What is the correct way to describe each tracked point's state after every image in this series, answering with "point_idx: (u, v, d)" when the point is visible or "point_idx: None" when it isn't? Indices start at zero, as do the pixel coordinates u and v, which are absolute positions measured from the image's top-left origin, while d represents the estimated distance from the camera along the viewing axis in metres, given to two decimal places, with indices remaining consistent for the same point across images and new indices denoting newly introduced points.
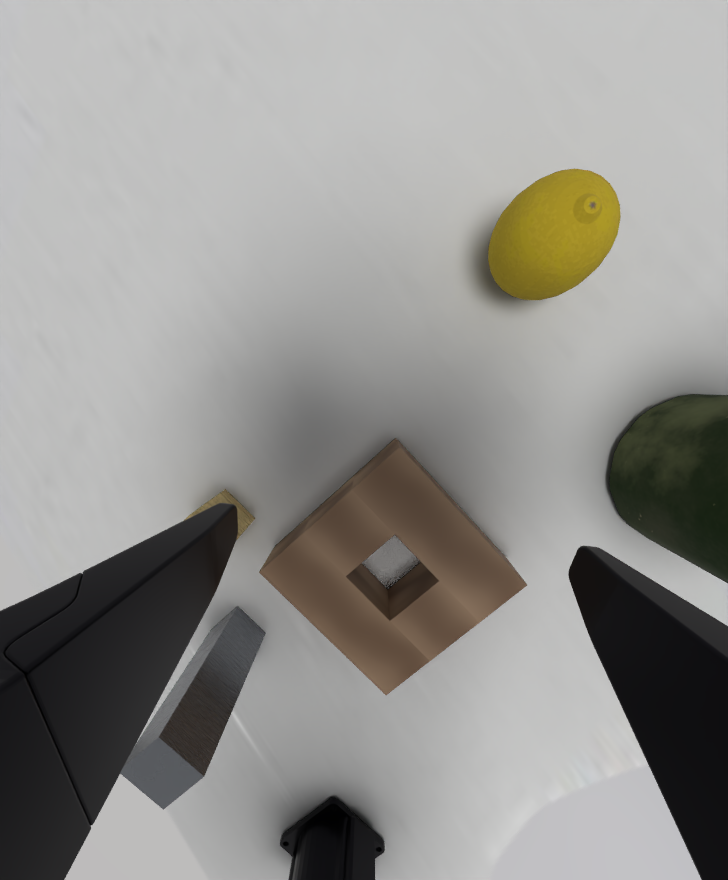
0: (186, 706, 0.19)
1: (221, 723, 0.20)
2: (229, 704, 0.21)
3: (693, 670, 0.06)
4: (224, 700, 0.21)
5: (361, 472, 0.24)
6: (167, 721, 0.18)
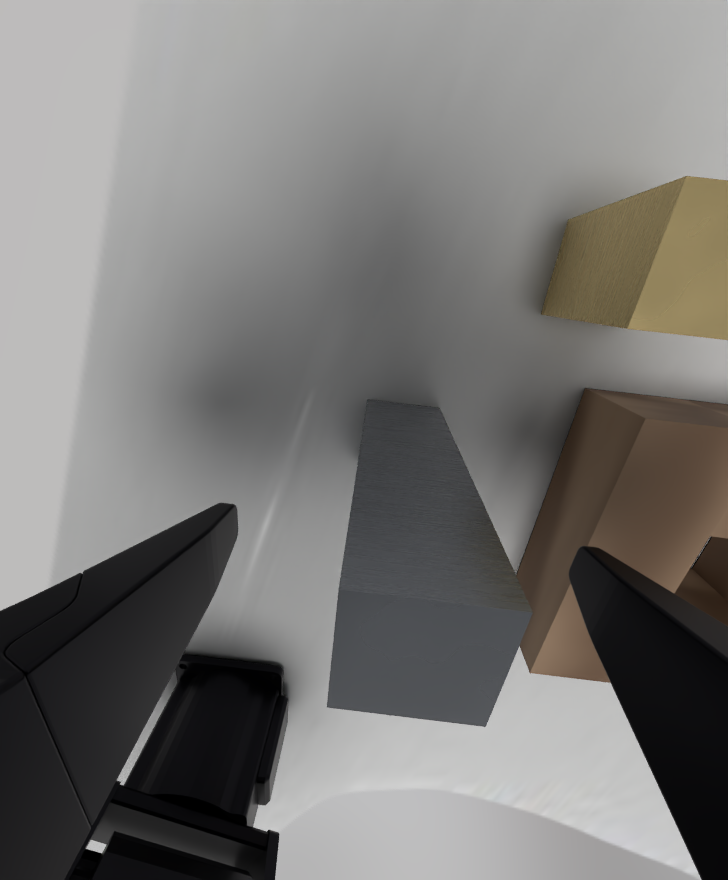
0: None
1: None
2: None
3: (693, 670, 0.06)
4: None
5: None
6: (507, 570, 0.06)
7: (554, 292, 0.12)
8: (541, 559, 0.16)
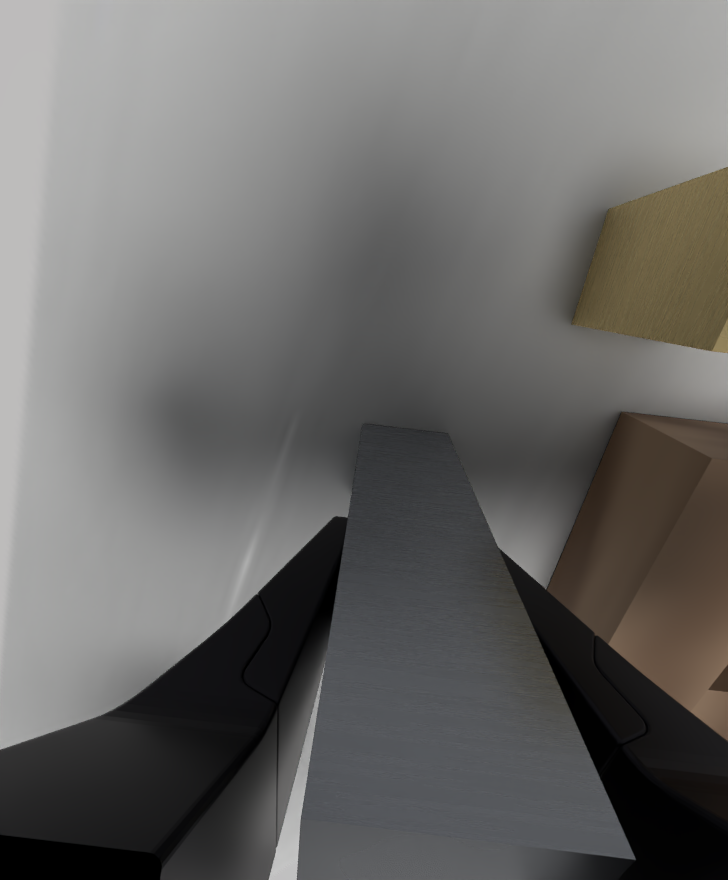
0: None
1: None
2: None
3: None
4: None
5: None
6: (574, 743, 0.04)
7: (590, 298, 0.10)
8: None
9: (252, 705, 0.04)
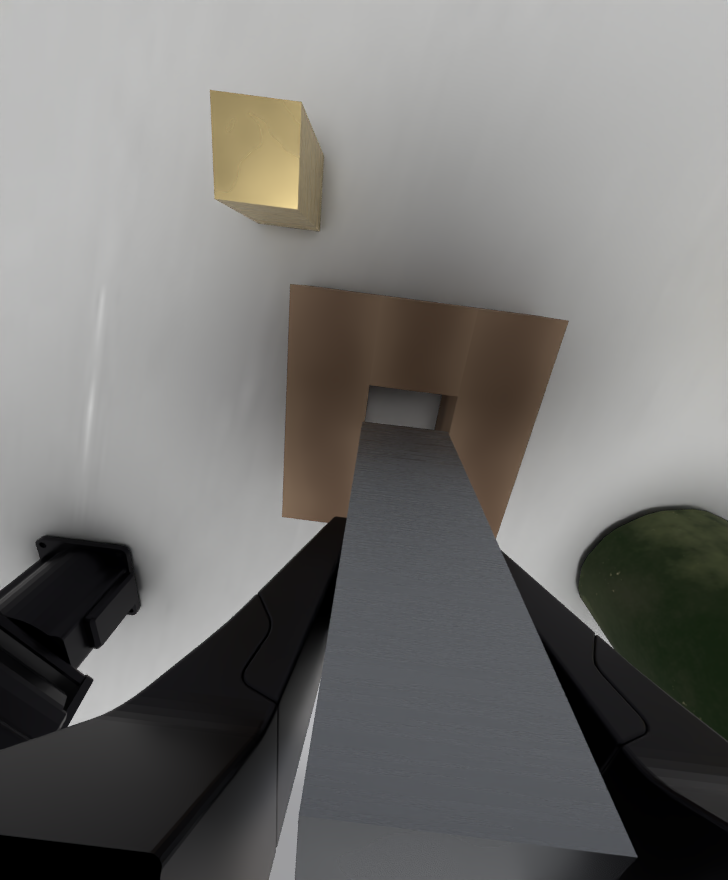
0: None
1: None
2: None
3: None
4: None
5: (480, 308, 0.17)
6: (575, 740, 0.04)
7: None
8: None
9: (252, 705, 0.04)
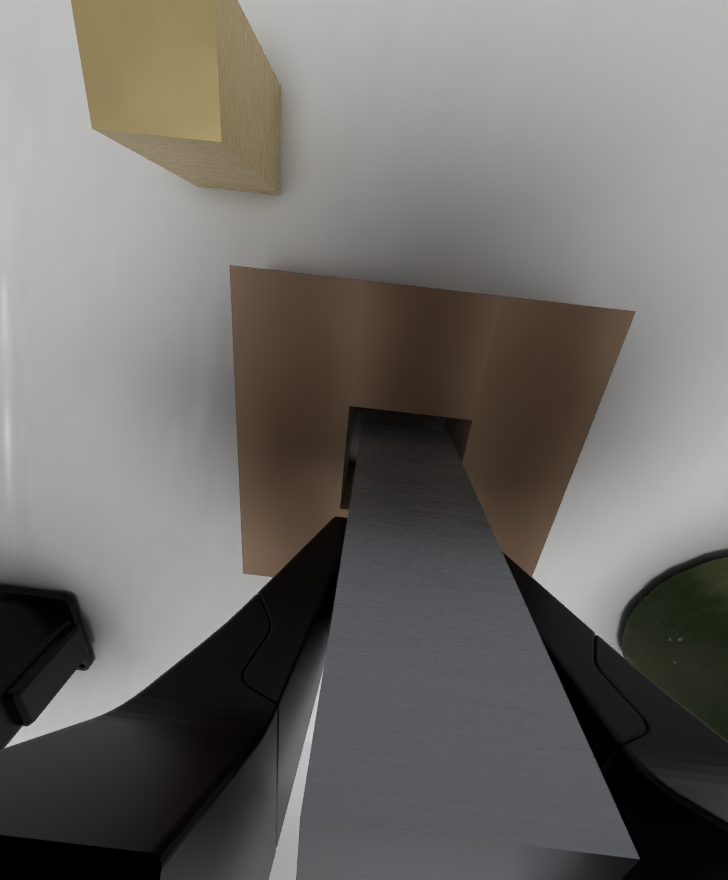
0: None
1: None
2: None
3: None
4: None
5: None
6: (577, 741, 0.04)
7: None
8: None
9: (253, 704, 0.04)
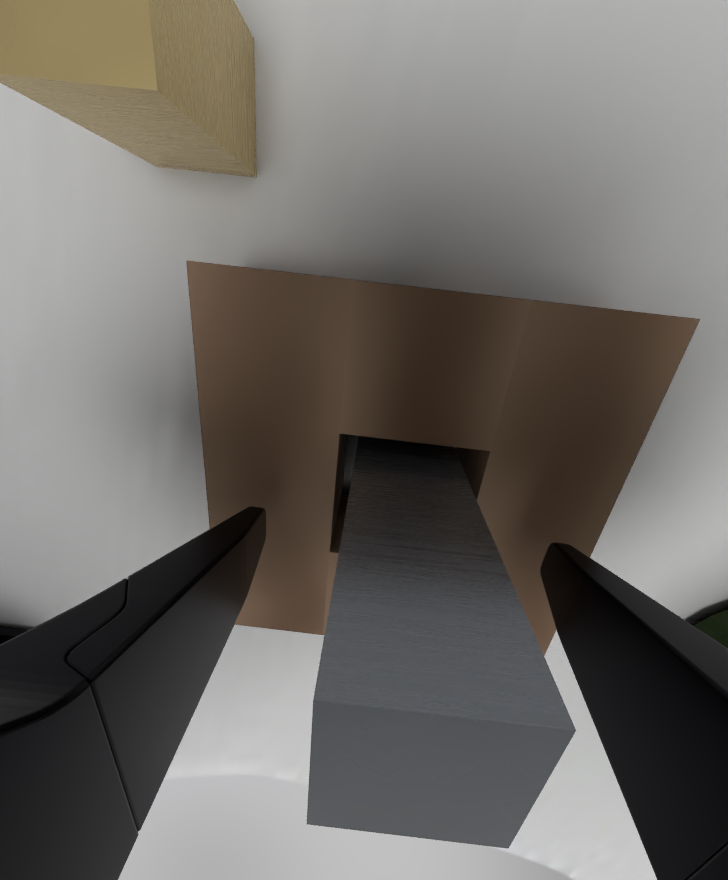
0: None
1: None
2: None
3: (649, 665, 0.06)
4: None
5: None
6: (535, 656, 0.05)
7: None
8: None
9: (61, 682, 0.04)
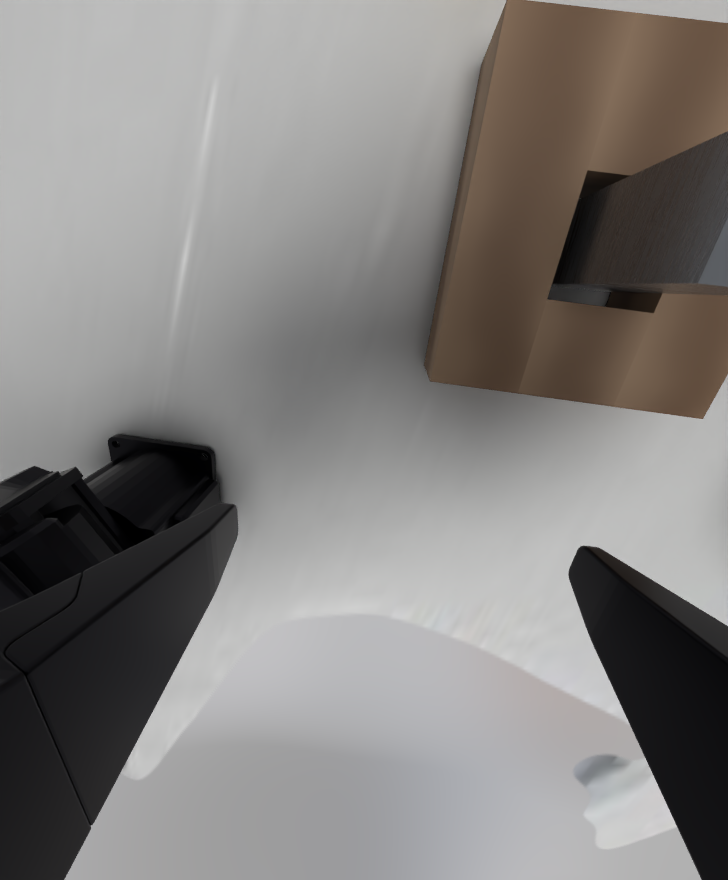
0: None
1: None
2: None
3: (693, 670, 0.06)
4: None
5: None
6: None
7: None
8: (445, 271, 0.16)
9: None
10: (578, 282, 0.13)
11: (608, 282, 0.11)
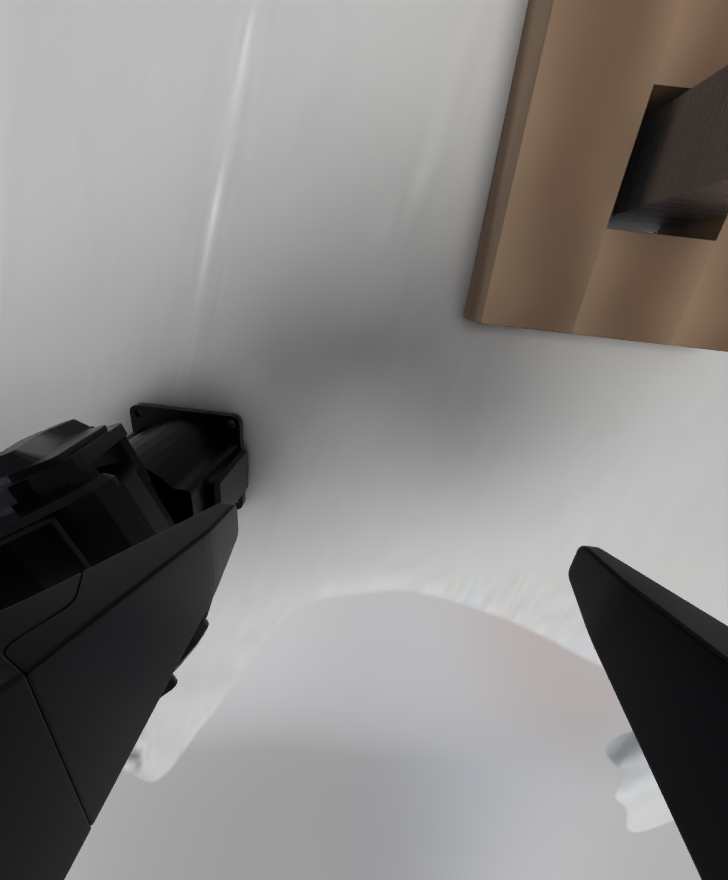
0: None
1: None
2: None
3: (693, 670, 0.06)
4: None
5: None
6: None
7: None
8: (492, 210, 0.15)
9: None
10: (644, 204, 0.12)
11: (689, 189, 0.11)
